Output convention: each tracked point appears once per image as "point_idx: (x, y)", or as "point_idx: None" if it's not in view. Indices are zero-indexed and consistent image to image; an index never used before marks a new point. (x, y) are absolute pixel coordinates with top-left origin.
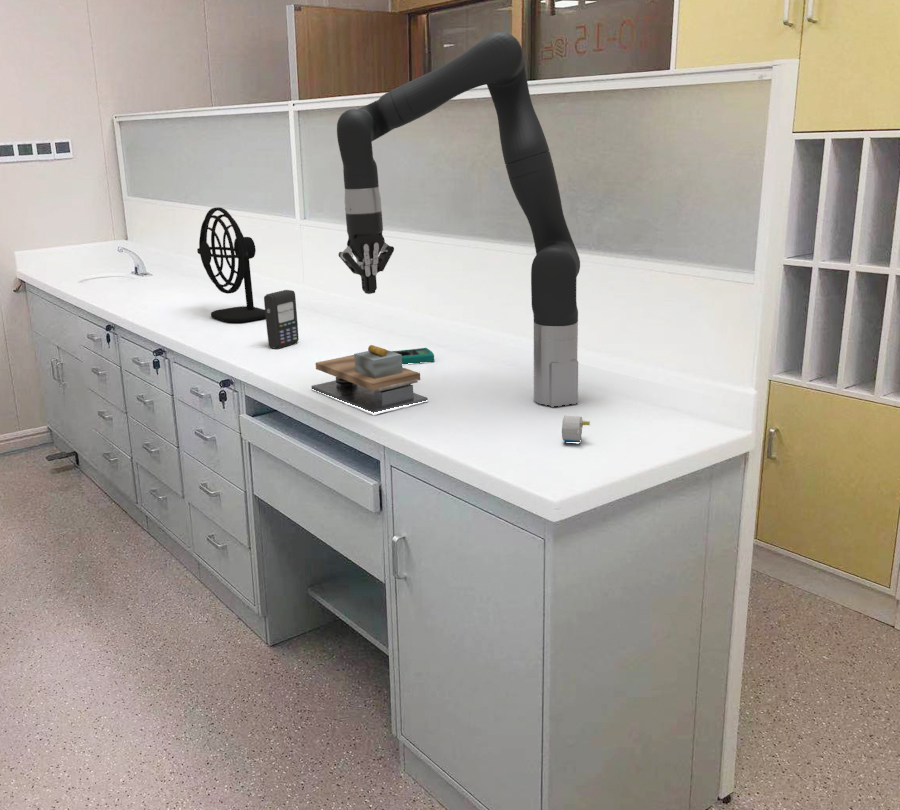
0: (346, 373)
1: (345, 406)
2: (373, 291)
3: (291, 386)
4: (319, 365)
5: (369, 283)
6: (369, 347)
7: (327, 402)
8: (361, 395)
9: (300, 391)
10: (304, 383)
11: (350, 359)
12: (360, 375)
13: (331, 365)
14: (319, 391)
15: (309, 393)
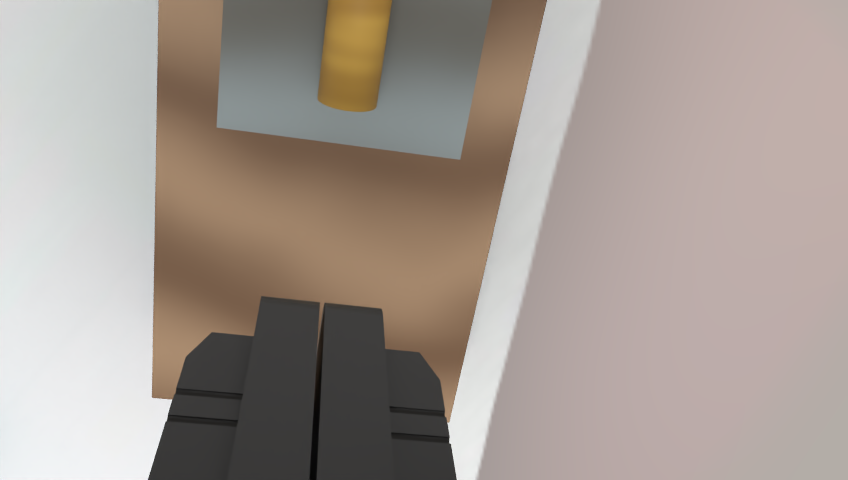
0: (509, 127)
1: (542, 32)
2: (298, 306)
3: (466, 448)
4: (456, 383)
5: (380, 413)
6: (373, 97)
7: (544, 156)
8: None
9: (494, 371)
10: None
11: None
12: (492, 17)
13: (435, 324)
14: None
15: (492, 323)
